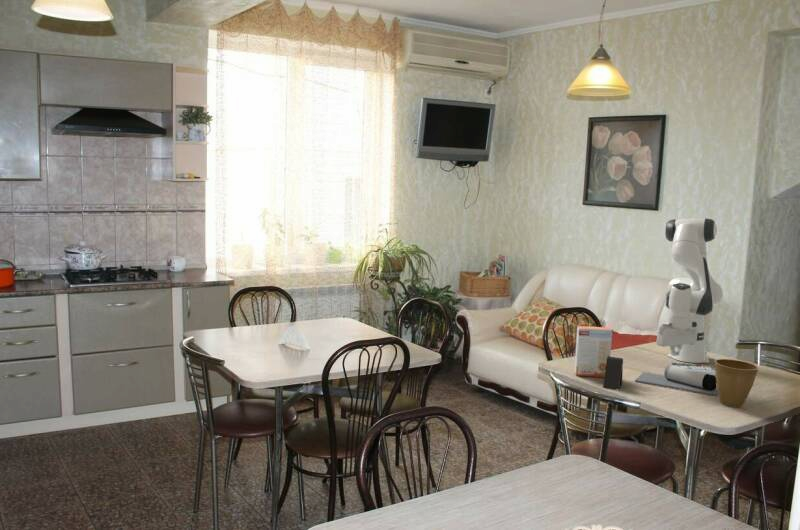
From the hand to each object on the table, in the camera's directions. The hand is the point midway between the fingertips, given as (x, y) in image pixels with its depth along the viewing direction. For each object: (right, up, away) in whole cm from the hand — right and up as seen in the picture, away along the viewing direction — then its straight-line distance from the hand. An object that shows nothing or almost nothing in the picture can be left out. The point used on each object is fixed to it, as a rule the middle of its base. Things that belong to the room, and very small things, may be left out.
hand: (675, 355), depth 294 cm
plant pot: (+12, -16, -25) cm, 32 cm away
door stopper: (-28, -12, -7) cm, 31 cm away
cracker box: (-33, -10, +9) cm, 35 cm away
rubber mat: (+2, -12, 0) cm, 12 cm away
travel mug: (-1, -8, +5) cm, 9 cm away
